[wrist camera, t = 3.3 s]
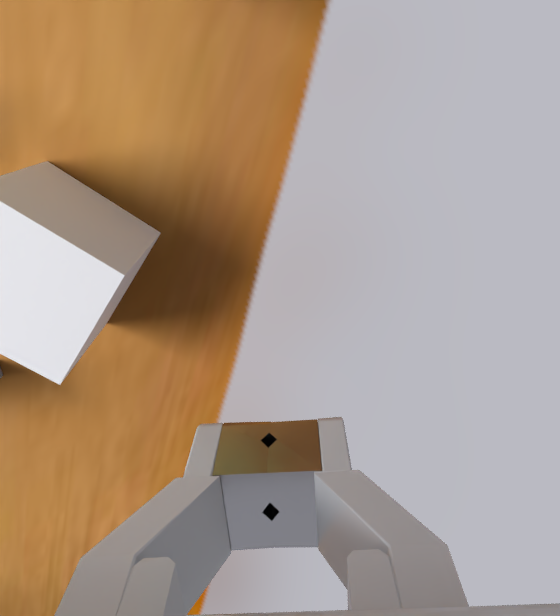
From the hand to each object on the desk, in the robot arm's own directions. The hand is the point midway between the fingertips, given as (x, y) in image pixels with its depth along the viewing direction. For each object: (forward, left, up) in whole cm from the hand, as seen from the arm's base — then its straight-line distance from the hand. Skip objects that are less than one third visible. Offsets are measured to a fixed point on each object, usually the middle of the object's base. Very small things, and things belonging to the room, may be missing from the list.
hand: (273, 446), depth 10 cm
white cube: (0, -10, -15) cm, 18 cm away
